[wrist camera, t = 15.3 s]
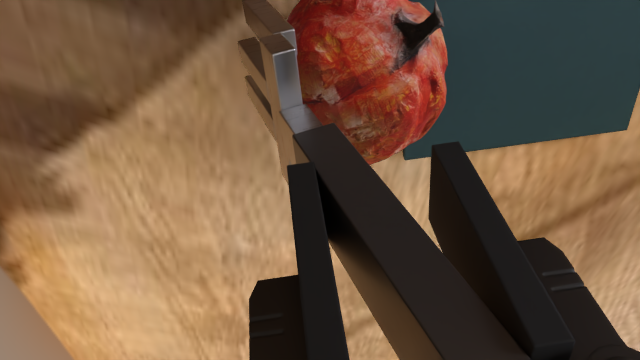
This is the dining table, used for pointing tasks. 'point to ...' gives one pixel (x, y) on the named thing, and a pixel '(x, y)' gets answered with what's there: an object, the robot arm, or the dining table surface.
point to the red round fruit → (372, 69)
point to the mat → (534, 71)
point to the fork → (368, 217)
